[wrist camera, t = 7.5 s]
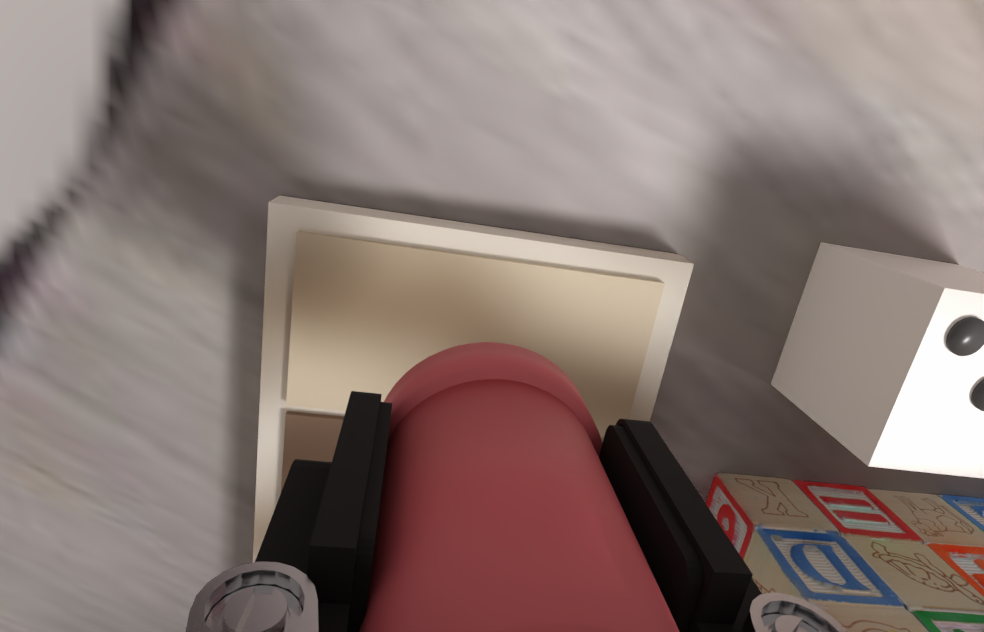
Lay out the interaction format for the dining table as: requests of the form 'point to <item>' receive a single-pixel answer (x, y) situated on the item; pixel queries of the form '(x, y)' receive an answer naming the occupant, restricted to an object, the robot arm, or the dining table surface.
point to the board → (443, 317)
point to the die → (891, 359)
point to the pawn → (502, 507)
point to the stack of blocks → (860, 550)
